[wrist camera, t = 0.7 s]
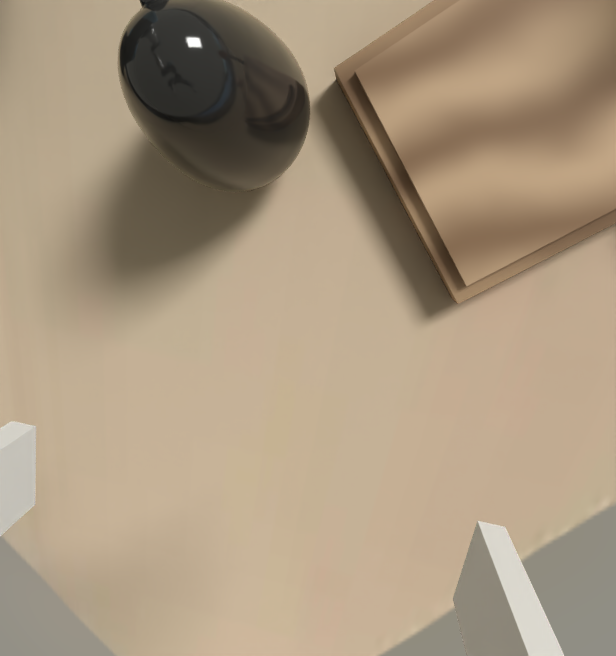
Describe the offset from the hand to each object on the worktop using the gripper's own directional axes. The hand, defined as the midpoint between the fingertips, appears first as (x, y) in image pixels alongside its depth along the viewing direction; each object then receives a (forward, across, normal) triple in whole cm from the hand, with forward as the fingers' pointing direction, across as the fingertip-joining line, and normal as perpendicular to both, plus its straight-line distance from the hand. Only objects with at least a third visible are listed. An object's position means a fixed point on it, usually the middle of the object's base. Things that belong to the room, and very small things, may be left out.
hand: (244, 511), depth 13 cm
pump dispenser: (+25, -8, +14) cm, 29 cm away
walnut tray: (+24, +11, +16) cm, 31 cm away
